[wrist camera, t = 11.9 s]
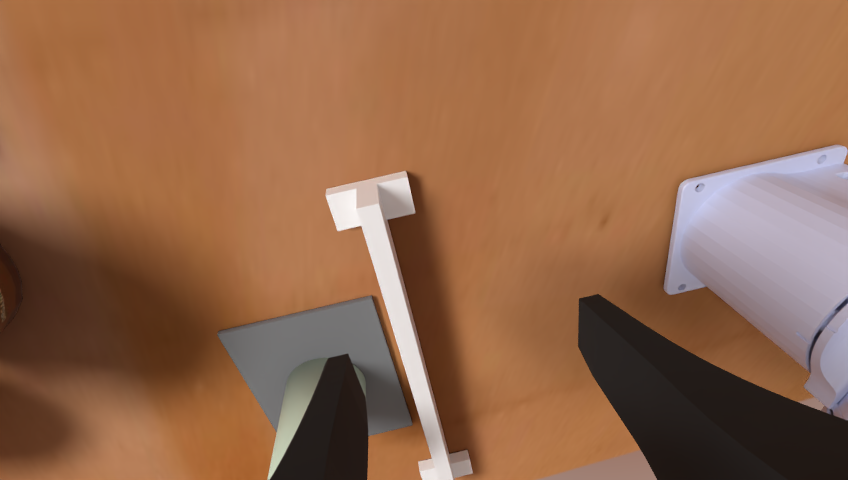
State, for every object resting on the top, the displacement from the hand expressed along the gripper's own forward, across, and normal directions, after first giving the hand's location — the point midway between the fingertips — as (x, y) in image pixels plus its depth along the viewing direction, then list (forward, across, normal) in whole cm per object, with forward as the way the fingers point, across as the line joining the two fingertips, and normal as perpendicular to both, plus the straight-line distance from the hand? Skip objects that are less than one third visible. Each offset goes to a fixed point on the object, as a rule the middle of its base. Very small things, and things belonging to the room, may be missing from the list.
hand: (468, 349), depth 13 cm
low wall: (+10, +2, +11) cm, 15 cm away
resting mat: (+10, +8, +11) cm, 17 cm away
